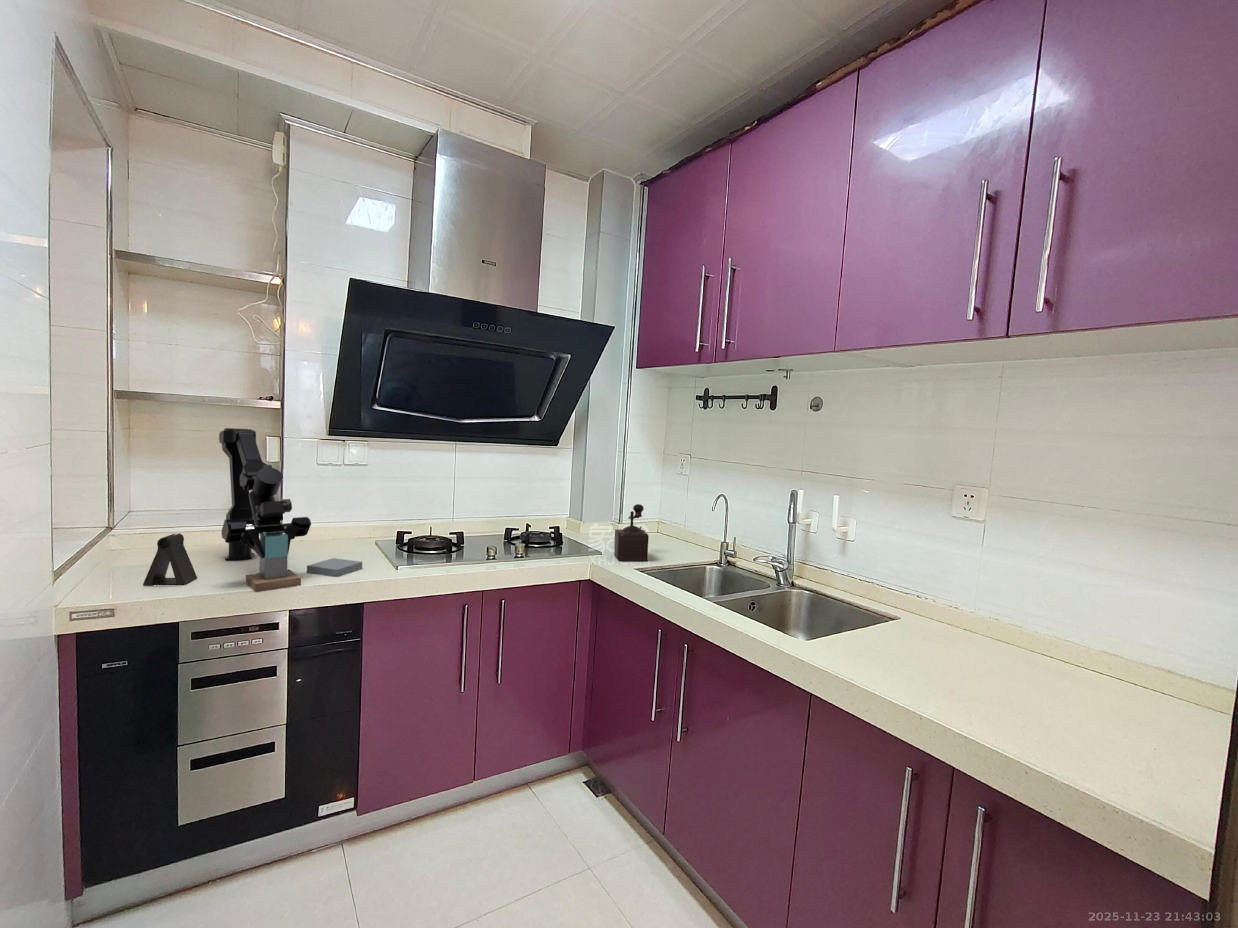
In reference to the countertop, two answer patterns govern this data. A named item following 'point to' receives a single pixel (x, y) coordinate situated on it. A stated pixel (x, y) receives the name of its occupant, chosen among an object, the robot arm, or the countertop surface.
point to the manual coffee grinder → (631, 540)
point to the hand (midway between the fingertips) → (275, 556)
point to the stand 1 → (272, 581)
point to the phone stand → (175, 554)
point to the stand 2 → (334, 567)
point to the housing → (274, 555)
